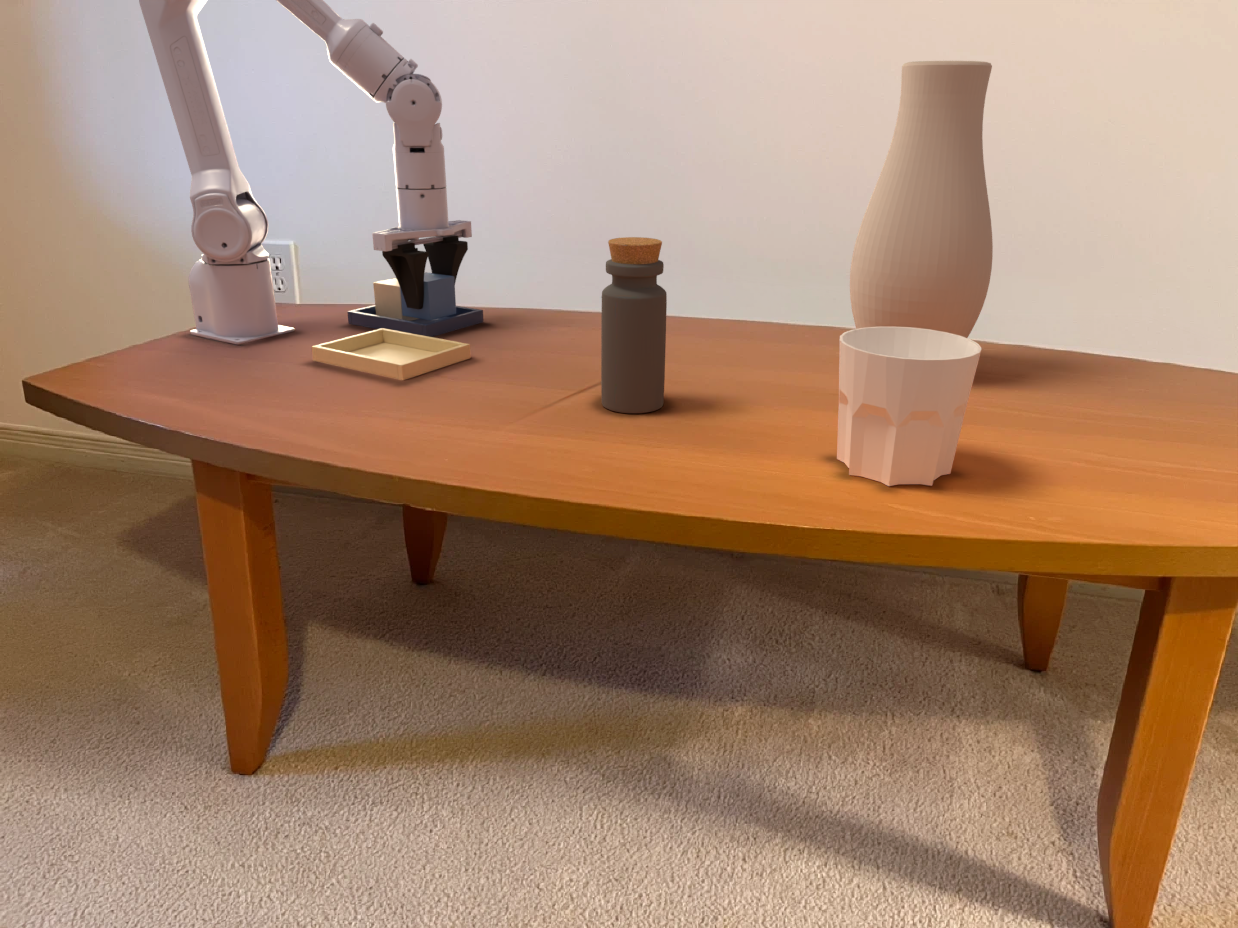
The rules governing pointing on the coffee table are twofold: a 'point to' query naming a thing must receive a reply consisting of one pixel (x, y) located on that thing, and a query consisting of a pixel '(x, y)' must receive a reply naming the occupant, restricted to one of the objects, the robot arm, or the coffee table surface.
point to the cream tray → (391, 353)
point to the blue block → (434, 298)
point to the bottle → (633, 327)
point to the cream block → (389, 299)
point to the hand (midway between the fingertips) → (429, 304)
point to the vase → (929, 208)
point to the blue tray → (417, 321)
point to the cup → (902, 401)
